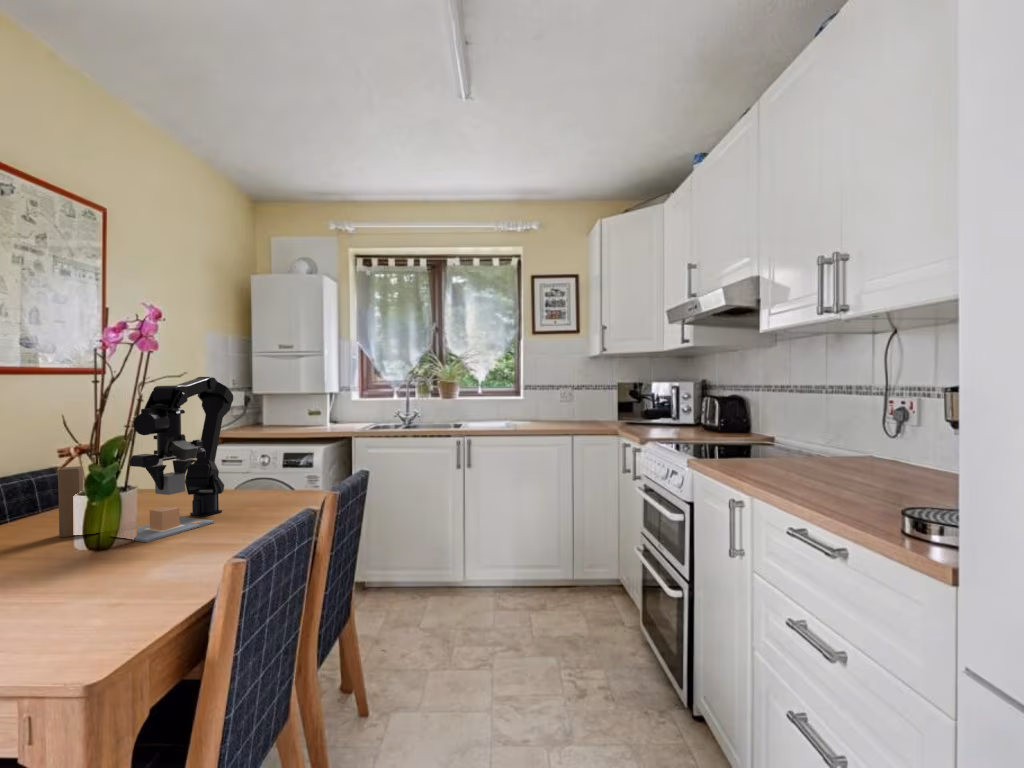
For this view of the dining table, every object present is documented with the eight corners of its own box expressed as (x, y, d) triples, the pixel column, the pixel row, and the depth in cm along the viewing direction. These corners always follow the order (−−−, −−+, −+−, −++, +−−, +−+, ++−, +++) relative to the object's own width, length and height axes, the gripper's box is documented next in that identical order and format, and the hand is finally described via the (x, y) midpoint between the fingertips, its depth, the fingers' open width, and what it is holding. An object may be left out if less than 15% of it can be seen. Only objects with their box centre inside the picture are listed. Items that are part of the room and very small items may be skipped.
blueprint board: (180, 518, 167) (180, 516, 167) (214, 522, 161) (214, 520, 161) (110, 536, 148) (110, 534, 148) (146, 542, 143) (146, 539, 143)
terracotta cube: (167, 524, 158) (166, 506, 158) (179, 525, 156) (179, 507, 156) (149, 528, 154) (149, 510, 153) (162, 530, 152) (162, 511, 152)
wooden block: (104, 529, 155) (103, 464, 155) (100, 533, 151) (99, 467, 151) (64, 533, 151) (62, 467, 151) (58, 538, 147) (57, 469, 147)
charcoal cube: (172, 490, 158) (171, 472, 158) (185, 491, 156) (184, 473, 156) (155, 493, 153) (155, 475, 153) (168, 494, 152) (168, 476, 151)
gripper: (158, 435, 143) (159, 497, 143) (219, 428, 160) (220, 483, 161) (127, 434, 147) (128, 494, 147) (190, 427, 164) (191, 481, 165)
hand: (170, 487), depth 155 cm, fingers closed on charcoal cube, 5 cm apart
